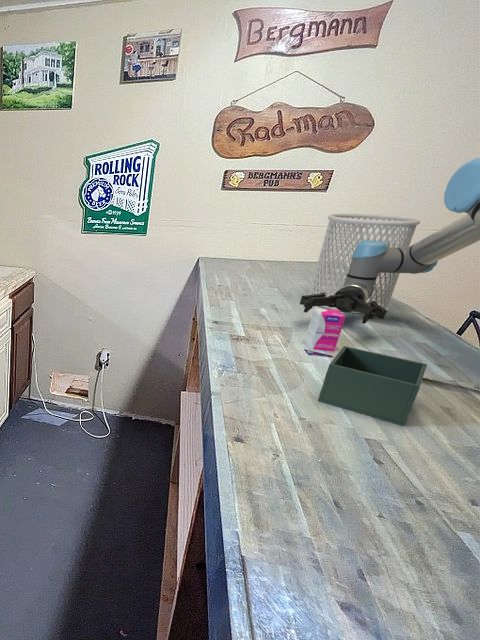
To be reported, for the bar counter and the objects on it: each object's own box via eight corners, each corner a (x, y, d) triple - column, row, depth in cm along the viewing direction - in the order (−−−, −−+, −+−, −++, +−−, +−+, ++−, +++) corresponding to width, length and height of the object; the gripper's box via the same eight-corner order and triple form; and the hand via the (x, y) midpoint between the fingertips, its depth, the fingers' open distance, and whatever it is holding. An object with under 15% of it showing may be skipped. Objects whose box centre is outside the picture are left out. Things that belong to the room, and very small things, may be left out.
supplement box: (307, 355, 121) (319, 313, 116) (302, 347, 126) (313, 307, 121) (333, 358, 119) (346, 316, 114) (326, 349, 124) (338, 309, 119)
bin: (412, 400, 98) (427, 364, 94) (403, 426, 88) (420, 386, 85) (332, 379, 107) (343, 345, 104) (317, 400, 98) (329, 364, 94)
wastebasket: (318, 291, 180) (341, 211, 168) (397, 305, 163) (428, 217, 151) (295, 302, 165) (318, 216, 153) (378, 319, 148) (411, 223, 136)
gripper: (398, 318, 132) (387, 337, 119) (300, 301, 148) (280, 315, 135) (407, 293, 129) (397, 309, 116) (306, 278, 145) (287, 291, 132)
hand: (334, 313), depth 125 cm, fingers open, 13 cm apart
